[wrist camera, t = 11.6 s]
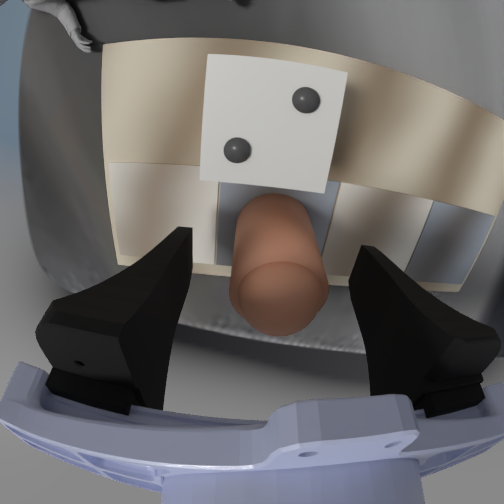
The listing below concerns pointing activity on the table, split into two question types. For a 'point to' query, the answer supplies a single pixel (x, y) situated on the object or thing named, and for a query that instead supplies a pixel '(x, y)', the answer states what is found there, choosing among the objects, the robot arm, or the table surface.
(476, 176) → the board
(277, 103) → the die
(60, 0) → the soldier figure
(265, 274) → the pawn
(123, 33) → the table surface
